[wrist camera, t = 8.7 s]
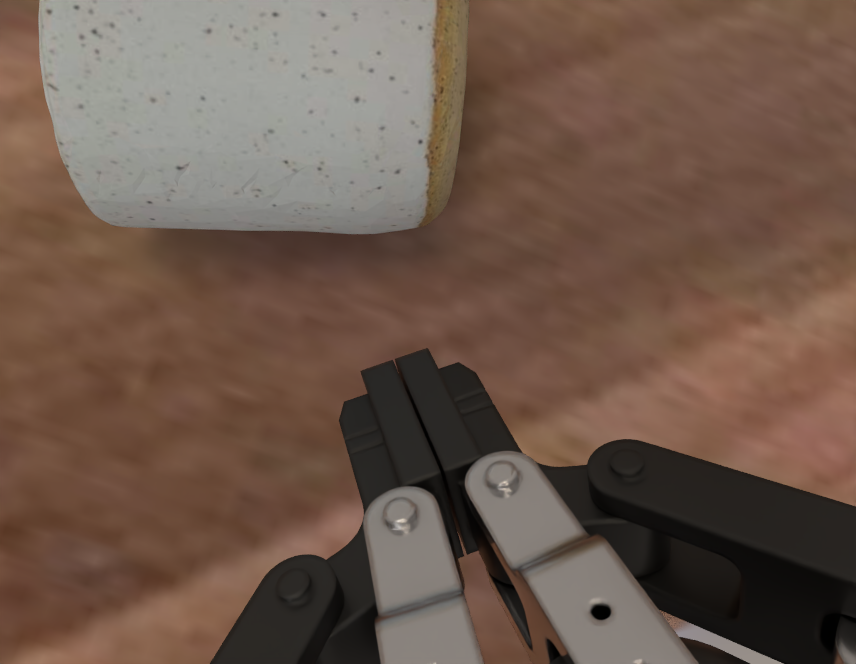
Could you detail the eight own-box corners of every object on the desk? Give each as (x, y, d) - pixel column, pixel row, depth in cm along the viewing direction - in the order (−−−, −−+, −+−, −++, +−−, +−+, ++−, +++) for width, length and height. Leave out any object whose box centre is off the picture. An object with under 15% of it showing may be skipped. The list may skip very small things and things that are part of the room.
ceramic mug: (446, 274, 20) (479, 143, 13) (139, 268, 20) (-9, 130, 13) (445, -63, 23) (472, -339, 15) (170, -73, 22) (60, -362, 15)
